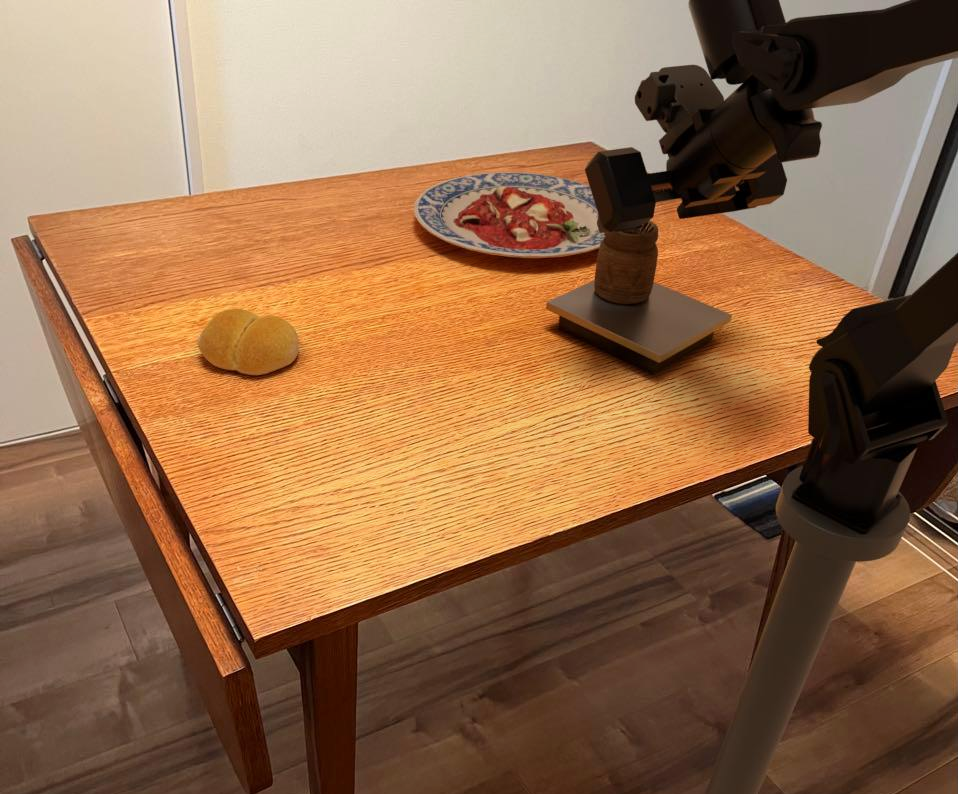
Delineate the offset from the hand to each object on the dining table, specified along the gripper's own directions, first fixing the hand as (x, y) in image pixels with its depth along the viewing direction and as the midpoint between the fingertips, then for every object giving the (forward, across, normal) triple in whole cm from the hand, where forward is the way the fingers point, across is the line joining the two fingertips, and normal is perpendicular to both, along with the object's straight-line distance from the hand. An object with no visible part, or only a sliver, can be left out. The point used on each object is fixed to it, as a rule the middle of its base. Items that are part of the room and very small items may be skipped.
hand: (640, 220), depth 87 cm
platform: (+6, 0, +9) cm, 11 cm away
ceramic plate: (+26, -2, -10) cm, 28 cm away
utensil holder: (+7, 0, +5) cm, 8 cm away
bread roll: (+14, +37, +2) cm, 39 cm away
